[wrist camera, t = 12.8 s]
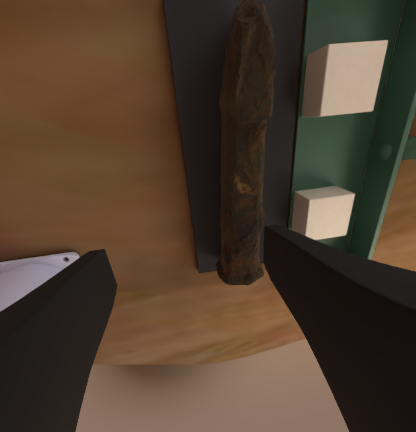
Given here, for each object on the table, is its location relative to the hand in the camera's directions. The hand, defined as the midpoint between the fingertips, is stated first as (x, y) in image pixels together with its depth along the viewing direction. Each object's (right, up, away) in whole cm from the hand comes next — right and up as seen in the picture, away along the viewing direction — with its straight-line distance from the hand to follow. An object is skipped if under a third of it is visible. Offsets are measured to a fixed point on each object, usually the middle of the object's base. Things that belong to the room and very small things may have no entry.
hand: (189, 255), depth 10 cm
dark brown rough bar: (+2, +6, +8) cm, 10 cm away
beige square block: (+11, +3, +10) cm, 15 cm away
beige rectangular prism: (+10, +12, +6) cm, 17 cm away
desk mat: (+3, +6, +8) cm, 11 cm away
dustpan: (+16, +8, +9) cm, 20 cm away
